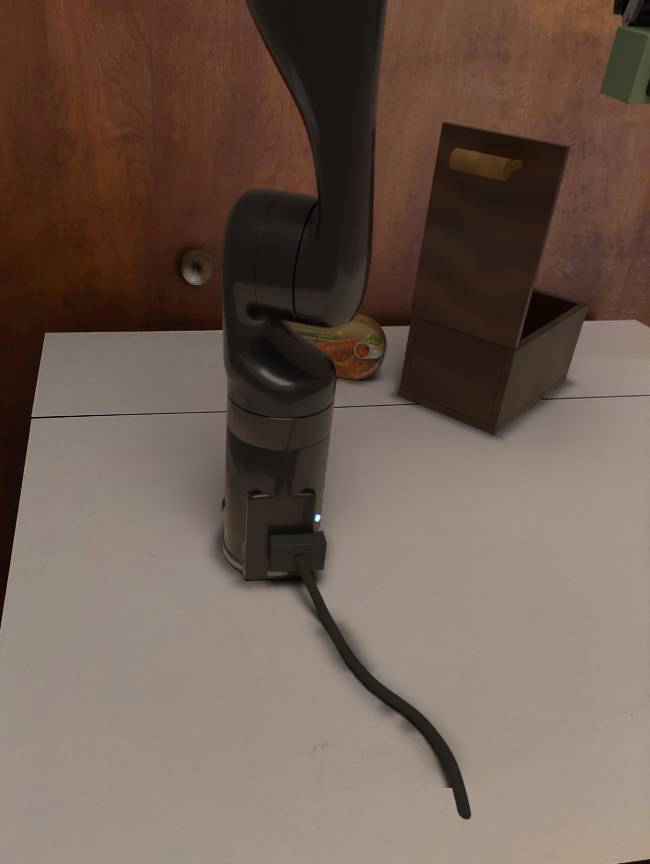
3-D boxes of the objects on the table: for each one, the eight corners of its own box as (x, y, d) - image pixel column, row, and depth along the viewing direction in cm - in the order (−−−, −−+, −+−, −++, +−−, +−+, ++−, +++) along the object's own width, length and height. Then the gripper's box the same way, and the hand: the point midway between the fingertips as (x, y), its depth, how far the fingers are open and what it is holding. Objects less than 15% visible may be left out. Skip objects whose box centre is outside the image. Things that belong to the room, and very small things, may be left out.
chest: (474, 349, 117) (491, 274, 110) (565, 381, 110) (589, 304, 103) (397, 395, 105) (411, 315, 98) (493, 435, 98) (515, 351, 91)
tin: (271, 367, 110) (275, 308, 105) (277, 357, 113) (281, 299, 107) (380, 385, 107) (389, 325, 102) (383, 374, 109) (392, 315, 104)
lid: (446, 121, 85) (419, 128, 82) (570, 145, 78) (546, 154, 75) (413, 310, 98) (389, 322, 95) (518, 346, 91) (495, 360, 88)
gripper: (621, -204, 56) (555, 74, 67) (748, -226, 45) (645, 110, 56) (719, -198, 57) (638, 74, 68) (866, -219, 46) (742, 110, 57)
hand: (642, 89), depth 62 cm, fingers closed on block, 4 cm apart
